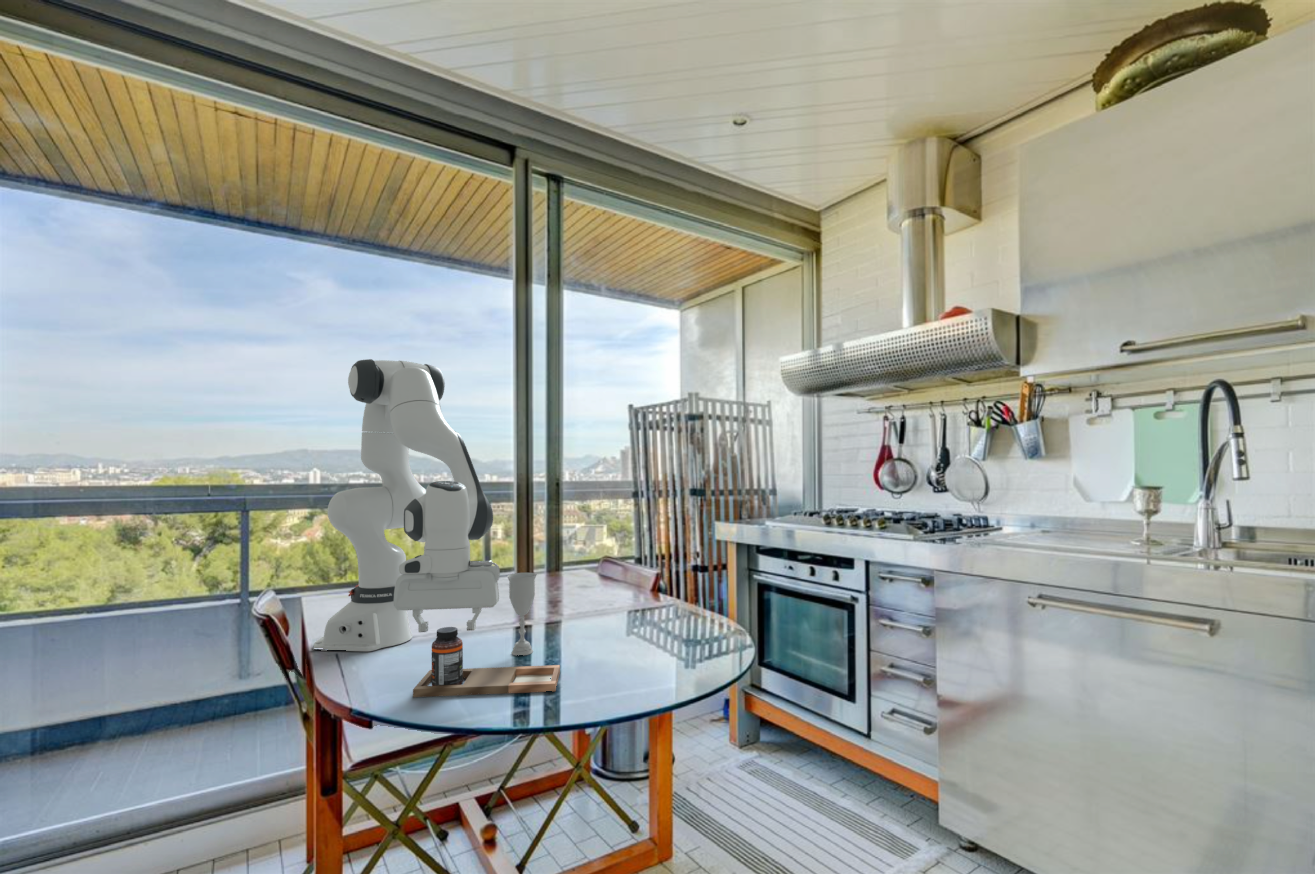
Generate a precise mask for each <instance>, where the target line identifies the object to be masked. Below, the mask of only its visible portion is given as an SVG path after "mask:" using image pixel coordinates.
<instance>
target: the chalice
mask: <svg viewBox="0 0 1315 874" xmlns="http://www.w3.org/2000/svg"><path fill="white" fill-rule="evenodd" d="M537 576H538V575H537V573H536V572H535V573H534V572H517V573H516V572H515V573H511V574H508V575H506V577H507V579H508V581H509V584H508V587H509V589H508V590H509V591H508V593H509V594H508V595H509V599H510V600H509V601H510V604H511V606H512V608H513V610H514V612H515V614H516V615H518V616H519V619H520V620H519V622H518V625H519V627H520V628H519V630H518V633H519V635H520V638H519V640H518V641H516V642H515V643H514V645H513V648H512V651H511V654H510V655H513V656H517V655H518V656H519V655H523V656H529V655H531V654H533V653H534V649H532V645H531V643H530V641H528V640H526V639H525V634H526V632H527V631H526V629H525V626H526V622H525V615H527V614H528V613H529V611H530V609H531V607H532V605H533V602H534V600H535V596H536V593H535V588H536V587H535V585H536V584H535V582H536V577H537ZM518 656H517V657H518Z"/></svg>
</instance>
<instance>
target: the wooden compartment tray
mask: <svg viewBox="0 0 1315 874" xmlns="http://www.w3.org/2000/svg"><path fill="white" fill-rule="evenodd" d="M560 674H561V665H560V664H552V665H549V664H547V665H527V666H525V665H524V666H523V665H522V666H502V667H499V666H498V667H475V668H463V679H465V681H463V683H462V684H461V685H441V686H432V685H430V684H431V683H432V669H429V671H428V672H426V674H425V675H424V676H423V677H422V678H421V679H420V681H419V682H418V683H417V684H416V685H415V687H413V689H412V697H413V698H430V697H431V698H432V697H453V696H478V695H498V694H499V695H500V694H501V695H504V694H525V693H526V694H527V693H547V692H546V691H552V692H556V691H557V687H556V686H558V683H559V678H560ZM550 678H551V679H550Z"/></svg>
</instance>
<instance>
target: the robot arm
mask: <svg viewBox="0 0 1315 874" xmlns="http://www.w3.org/2000/svg"><path fill="white" fill-rule="evenodd" d="M347 381H348V382H347V383H348V389H349V393H350V395H351V396H352V398H354V400H355V401H357V402H361V403H364V404H365V406H364V411H363V416H362V417H363V418H362V425H361V446H360V447H361V448H360V460H361V462H362V464H363V466H364V467H365V468H366V469H368V470H370V471H371V472H373V473H376V474H378V475H379V477H380V478H381V481H382V486H373V487H372V486H371V487H370V486H369V487H368V486H367V487H364V486H363V487H355V488H349V489H344V490H340V491H338V492H336V493H335V494H334V495H333V496H332V497H331V499H330V501H328V502H329V503H328V505H327V517H328V520H329V522H330V524H331V525H332V527H333V528H335V530H337V531H338V532H340V533H341V534H343V535H344V536H345V537H346V538H347V539H348V540H349V541H350V543H351V544H352V546H353V549H354V550H355V553H356V558H357V570H358V573H357V574H358V584H356V585H355V586H354V587H353V588H352V589H351V590H350V591H348V595H347V596H348V597H350V602H348V603H347V604H346V605H344V606H343V607H342V608H341V609H339V610H338V611H337V612H336V613H334V614H333V615H332V616H330V618H328V620H327V622H326V623H325V624H326V625H325V627H324V631H323V632H324V634H323V637H320V638H318V639H317V640H316V641H315V642H314V643H313V646H314V648H323V649H328V650H346V651H345V652H372V651H373V652H374V651H377V650H380V649H383V648H389V647H392V646H398V645H400V644H401V645H402V644H404V643H406V642H408V641H410V640H412V639H413V633H412V629H411V626H410V621H409V620H410V619H409V613H408V611H412V617H413V619H414V621H415V622H416V624H417V625H418V627H417V628H418V633H427V632H428V631H429V621H425V620H424V618H423V616H422V614H423V612H424V611H425V610H426V611H428V610H448V609H449V610H451V609H452V610H455V609H456V610H457V609H458V610H459V609H471V611H472V612H471V613H472V614H473V617H472V619H468V620H467V622H466V631H468V632H469V631H471V632H472V631H476V629H477V620H478V618H479V616H480V614H481V613H482V609H484V608H485V609H486V608H487V609H488V608H494V607H495V606H496V605H497V604H498V603H499V601H500V589H499V583H498V581H499V580H500V577H501V576H500V575H501V574H500V573H501V572H500V571H501V570H500V566H499V565H498V564H497V563H496V562H493V561H492V560H483V561H482V560H471V542H470V541H478V540H480V539H482V538H483V537H484V536H485V535H486V534H487V533H488V532H489V530H490V529H491V527H492V525H493V523H494V513H493V508H492V505H491V503H490V501H489V499H488V498H487V495H486V494H485V492H484V491H483V488H482V486H481V482H480V481H479V478H478V475H477V473H476V470H475V467H474V463H473V462H472V459H471V456H470V453H469V451H468V449H467V446H466V444H465V442H464V439H463V438H462V436H461V435H460V433H459V432H457V431H456V430H454V429H453V427H451V425H449V423H448V422H447V420H446V419H445V417H444V414H443V413H442V412H443V411H442V408H441V402H440V401H441V399H442V398H443V396H444V393H445V386H446V385H445V384H446V383H445V377H444V374H443V372H442V371H441V369H440V368H439V367H436V366H434V365H432V364H431V365H430V364H427V363H424V364H422V363H417V362H413V361H407V360H406V361H405V360H380V359H379V360H373V359H371V358H370V359H360V360H357V361H356V362H355V363H354V364H352V366H351V368H350V371H349V374H348V378H347ZM409 449H410V450H412V451H414V452H418V453H421V454H425V455H428V456H430V457H432V458H435V459H436V460H439V461H441V462H442V463H444V464H445V465H446V466H447V467H448V469H449V471H450V472H451V475H452V479H453V480H454V481H451V480H437V481H433V482H431V483H429V484H428V485H427V487H426V488H425V487H423V486H422V485H421V484H420V482H418V480H417V479H416V478H415V475H414V474H413V471H412V468H411V465H410V454H409V453H410V451H409ZM402 528H403V530H404V531H403V532H404V533H405V534H406V536H407V537H408V538H410V539H411V540H413V541H414V542H419V543H424V547H423V550H424V551H423V554H420V555H417V556H414V557H413V558H410V559H407V555H406V553H405V551H404V549H402V547H401V546H398V545H397V544H394V543H392V542H389V541H388V540H387V538H386V536H385V530H393V529H402Z"/></svg>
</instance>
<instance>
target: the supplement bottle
mask: <svg viewBox="0 0 1315 874" xmlns="http://www.w3.org/2000/svg"><path fill="white" fill-rule="evenodd" d="M458 631H459V629H458V628H457V627H455V626H446V627H445V626H444V627H440V628H438V629H437V630H436V638H435V640H434V641H433V642H432V644H431V670H432V681H431V686H441V685H463V683H464V681H463V679H464V678H463V669H464V667H463V666H464V663H463V662H464V658H463V657H464V656H463V655H464V653H463V651H464V649H463V648H464V647H463V646H464V645H463V644H464V643H463V640H462V639H461V638H460V637H458V635H459V633H458Z"/></svg>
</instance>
